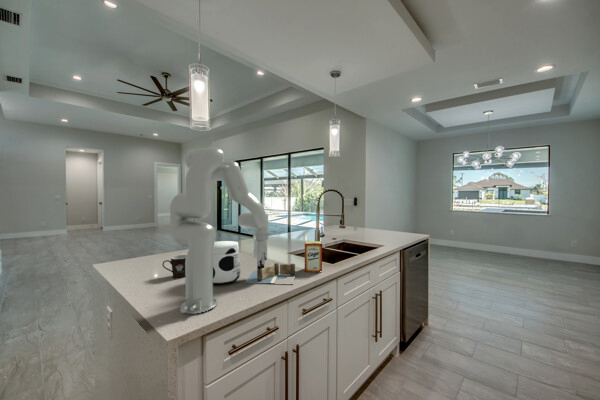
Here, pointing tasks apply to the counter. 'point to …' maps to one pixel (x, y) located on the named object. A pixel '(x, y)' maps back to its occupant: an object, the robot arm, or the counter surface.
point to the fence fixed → (285, 269)
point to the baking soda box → (313, 256)
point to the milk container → (225, 262)
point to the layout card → (267, 280)
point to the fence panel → (265, 272)
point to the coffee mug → (177, 266)
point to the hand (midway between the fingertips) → (260, 273)
